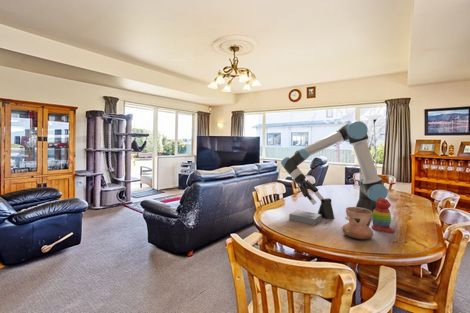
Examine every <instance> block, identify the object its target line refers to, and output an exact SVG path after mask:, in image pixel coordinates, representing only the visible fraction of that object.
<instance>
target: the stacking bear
mask: <svg viewBox="0 0 470 313" xmlns="http://www.w3.org/2000/svg"><path fill="white" fill-rule="evenodd" d="M376 206H377V207H376V208H375V209H374V211H373V213H372V216H371V222H372V225H371V230H374V231H377V232H380V233H387V234H394V233H395V230H394V229H393V228H391V227H390V225H391V223H392V222H391V221H392V216H391V211H390V208H391V206H392V204H391V203H390V201H389V200H388V199H386V198H385V199H384V198H381V197H380V198H379V199H378V200H377V201H376Z"/></svg>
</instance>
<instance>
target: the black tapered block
mask: <svg viewBox="0 0 470 313" xmlns="http://www.w3.org/2000/svg"><path fill="white" fill-rule="evenodd" d="M317 214H321V215H322V216H321V219H324V220H332V219H335V214H334V210H333V206H332V199H331V198H329V197H328V198H324V199H322V200H321V201H320V205H319V209H318V212H317Z"/></svg>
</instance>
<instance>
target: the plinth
mask: <svg viewBox="0 0 470 313" xmlns="http://www.w3.org/2000/svg"><path fill="white" fill-rule="evenodd" d="M321 216H322V215H321V214H318V213H316V212H310V211H304V210H300V209H296V210H294V211H292V212H290V213H289V214H288V217H289V218H288V219H289V220H291V221H295V222H299V223H304V224H307V225H313V226H315V225H317V224H318V223H319V222H321V221H322V217H321Z"/></svg>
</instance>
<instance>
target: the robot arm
mask: <svg viewBox="0 0 470 313" xmlns="http://www.w3.org/2000/svg"><path fill="white" fill-rule="evenodd" d="M368 130H369V129H368V126H367V124H366V123H365V122H363V121H361V120H353V121H351V122H350V121H349V122H347V123H346V124H345V125H343V126H341V127H339V128H338V129H336V131H335V132H333V133H331V134H329V135H327V136H325V137H323V138H321V139H319V140H316V141H314V142H313V143H310V144H309V145H307V146H305V147H302V148H300V149H298V150H296V151H295V152H294V154H293V155H292V156H291V157H290V156H286V157H284V158H283V159H282V160H281V161H280V164H281V166H282V167H283V168H284V170H285V172H287V174H288V175H289V176H290V178H292V179H293V181H294V182H295V184H296V185H297V187H298V188H299V189H300V191H301V193H302V195H303V197H304V198H307V199H308V200H309V202H310V203H311V204H312V205H316V204H317V201H316V199H315V198H314V197H313V196H312V195H311V194H310V192H309V191H308V189H309V190H310V191H312V192H313V193H314V195H315V196H316V197H317V198H318V200H319V201H320V202H321V200H322V199H325V198H324V196H323V195H322V194H321V193H320V192H319V188H317V186H315V185H314V184H313V183H311V182H310V180H308V179H307V180H306V178H307V176H306V175H305V174H304V173H303V172H302V171H301V170H300V168H299V167H298V166H299V165H301V164H302V163H303V162H305V161H306V160H307V159H309V157H311V156H313V155H315V154H317V153H320V152H321V151H324V150H325V149H328V148H330V147H332V146H334V145H336V144H338V143H340V142H342V143H344V142H345V141H348V142H349V145H351V146H352V147H353V150H354V153H355V156H356V159H357V162H358V165H359V169H360V171H361V174H362V177H361V178H360V180H359V192H358V193H359V194H358V196H359V197H358V200H357V201H356V202H357V203H356V205H355V207H360V208H365V209H368V210H370V211H372V214H373V211H374V209H375V208H376V207H377V206H376V201H377V200H378V199H379V198H380V197H381V198H384V199H386V198H387V196H388V193H389V191H388V189H387V187H386V186H385V185H384V182H383V179H382V177H380V176H379V175H378V172H377V170H376V166H375V163H374V160H373V156H372V154H371V151H370V147H369V143H368V141H369V136H368V133H369V131H368Z"/></svg>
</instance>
